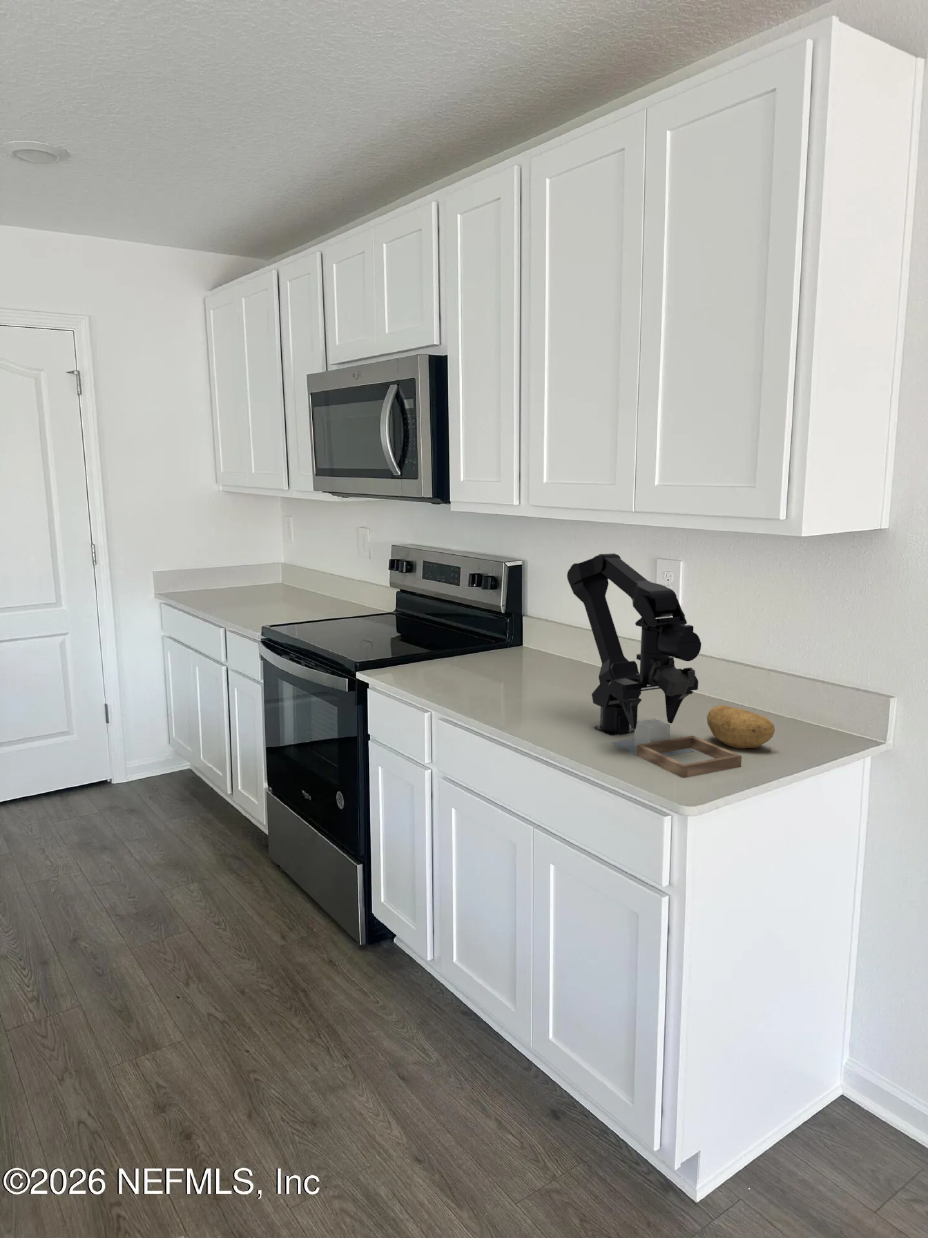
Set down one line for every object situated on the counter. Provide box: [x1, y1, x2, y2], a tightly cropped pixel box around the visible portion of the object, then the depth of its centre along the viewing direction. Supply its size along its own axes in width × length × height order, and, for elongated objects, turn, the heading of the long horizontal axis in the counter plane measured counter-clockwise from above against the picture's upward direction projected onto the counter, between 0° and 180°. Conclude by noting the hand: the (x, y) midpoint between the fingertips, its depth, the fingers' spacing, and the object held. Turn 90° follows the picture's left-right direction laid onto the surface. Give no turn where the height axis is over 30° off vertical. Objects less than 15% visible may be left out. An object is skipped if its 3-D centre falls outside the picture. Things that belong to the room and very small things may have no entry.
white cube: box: [633, 718, 671, 746], centre depth 177 cm, size 5×5×5 cm
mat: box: [610, 738, 694, 760], centre depth 177 cm, size 12×12×1 cm
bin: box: [636, 735, 743, 779], centre depth 168 cm, size 14×14×2 cm
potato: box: [706, 705, 776, 749], centre depth 177 cm, size 10×14×8 cm
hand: (652, 725), depth 176 cm, fingers open, 9 cm apart
